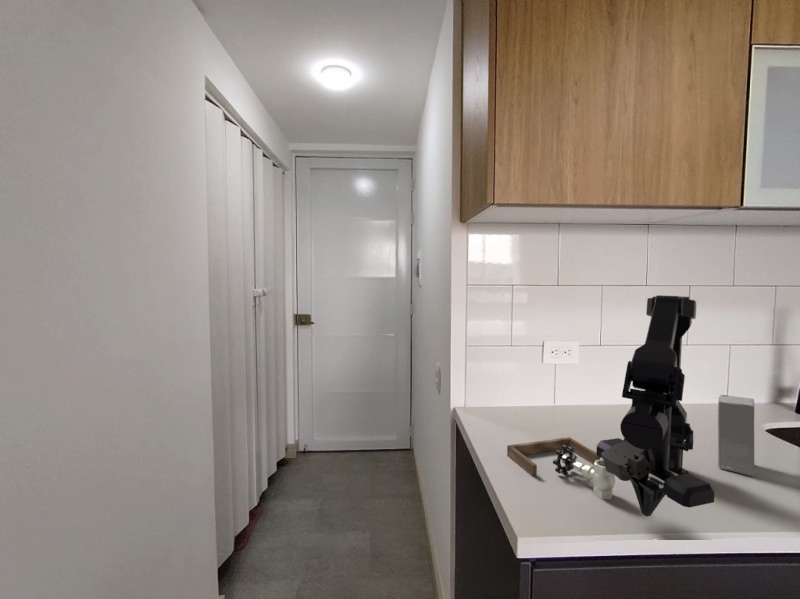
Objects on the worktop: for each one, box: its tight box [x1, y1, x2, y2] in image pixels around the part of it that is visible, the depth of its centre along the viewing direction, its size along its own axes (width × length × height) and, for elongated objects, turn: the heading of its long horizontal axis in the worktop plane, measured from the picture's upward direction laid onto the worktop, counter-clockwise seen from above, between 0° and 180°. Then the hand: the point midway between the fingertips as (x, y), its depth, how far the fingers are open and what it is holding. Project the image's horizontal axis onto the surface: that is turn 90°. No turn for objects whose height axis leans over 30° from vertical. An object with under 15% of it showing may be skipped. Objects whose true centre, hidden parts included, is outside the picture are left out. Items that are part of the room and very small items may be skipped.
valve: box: [552, 445, 616, 500], centre depth 84 cm, size 7×7×12 cm
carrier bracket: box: [506, 436, 601, 477], centre depth 95 cm, size 18×10×2 cm, turn 106°
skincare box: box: [716, 394, 756, 478], centre depth 92 cm, size 8×7×16 cm
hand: (646, 515), depth 70 cm, fingers closed
